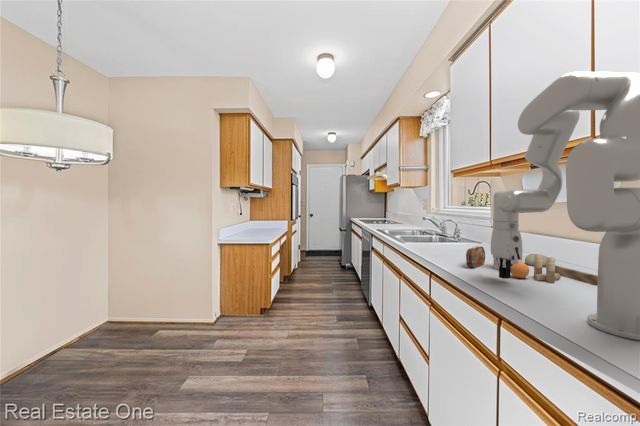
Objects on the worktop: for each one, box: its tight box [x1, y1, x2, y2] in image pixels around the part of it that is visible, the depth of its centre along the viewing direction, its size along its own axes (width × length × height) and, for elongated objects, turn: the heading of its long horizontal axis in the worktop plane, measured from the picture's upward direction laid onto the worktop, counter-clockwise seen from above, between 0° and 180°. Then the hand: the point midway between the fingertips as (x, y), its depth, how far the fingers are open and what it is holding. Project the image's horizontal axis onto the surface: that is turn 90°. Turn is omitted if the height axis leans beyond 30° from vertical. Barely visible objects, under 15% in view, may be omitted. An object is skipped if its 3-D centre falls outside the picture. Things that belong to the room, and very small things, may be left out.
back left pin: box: [533, 254, 543, 276], centre depth 107 cm, size 2×2×8 cm
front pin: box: [533, 273, 561, 282], centre depth 105 cm, size 2×2×8 cm
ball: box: [511, 261, 530, 279], centre depth 108 cm, size 6×6×6 cm
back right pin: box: [545, 256, 556, 284], centre depth 102 cm, size 2×2×8 cm
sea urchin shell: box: [524, 253, 547, 268], centre depth 129 cm, size 9×8×8 cm
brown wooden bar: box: [555, 264, 598, 286], centre depth 106 cm, size 20×2×3 cm, turn 6°
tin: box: [465, 246, 486, 269], centre depth 128 cm, size 15×3×8 cm, turn 131°
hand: (504, 277), depth 103 cm, fingers closed
